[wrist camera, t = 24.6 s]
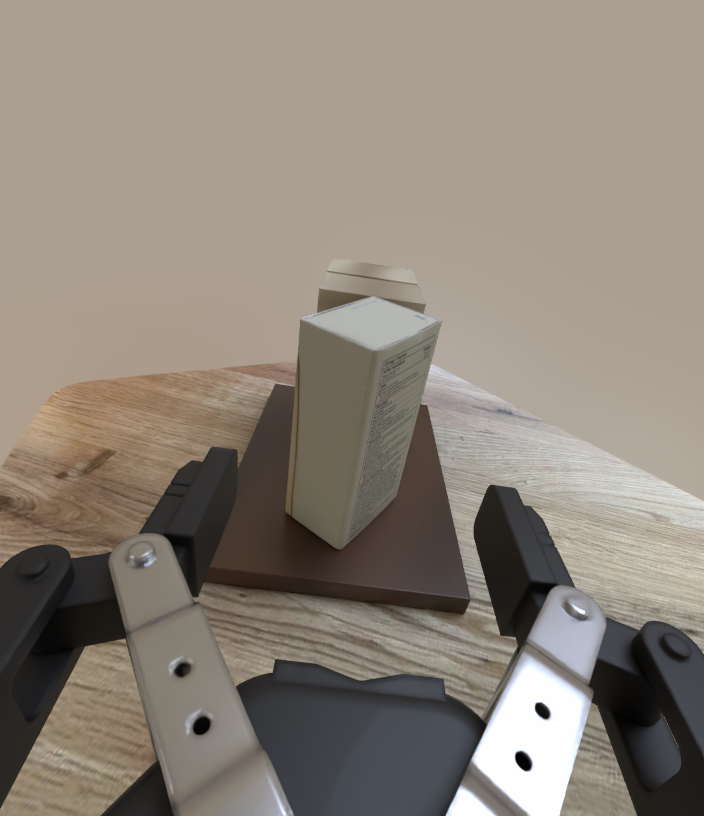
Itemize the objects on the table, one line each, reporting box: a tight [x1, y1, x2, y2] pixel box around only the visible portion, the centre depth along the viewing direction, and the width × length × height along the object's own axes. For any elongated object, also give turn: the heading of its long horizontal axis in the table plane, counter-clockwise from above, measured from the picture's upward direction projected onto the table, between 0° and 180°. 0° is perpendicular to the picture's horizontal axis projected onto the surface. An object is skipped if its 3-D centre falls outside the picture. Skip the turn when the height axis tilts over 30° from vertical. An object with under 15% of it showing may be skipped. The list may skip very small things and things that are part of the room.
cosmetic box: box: [285, 296, 442, 550], centre depth 23 cm, size 6×4×12 cm
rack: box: [204, 258, 471, 613], centre depth 27 cm, size 14×20×13 cm
